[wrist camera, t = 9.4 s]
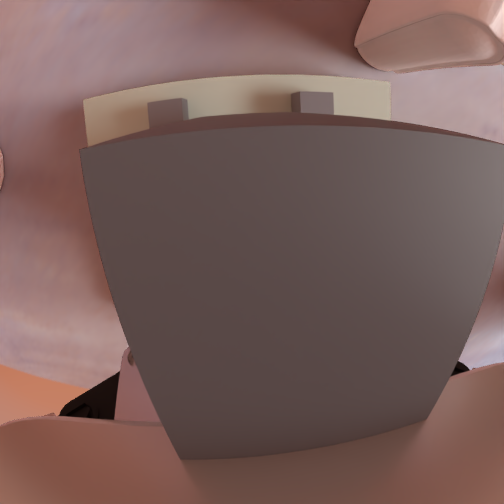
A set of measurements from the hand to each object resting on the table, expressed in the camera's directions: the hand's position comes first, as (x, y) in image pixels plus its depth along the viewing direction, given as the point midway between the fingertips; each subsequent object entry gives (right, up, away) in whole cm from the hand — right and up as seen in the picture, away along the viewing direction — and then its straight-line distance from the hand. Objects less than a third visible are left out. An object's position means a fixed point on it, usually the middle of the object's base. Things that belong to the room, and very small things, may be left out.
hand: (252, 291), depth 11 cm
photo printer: (+10, +18, +4) cm, 21 cm away
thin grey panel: (0, +1, +2) cm, 2 cm away
